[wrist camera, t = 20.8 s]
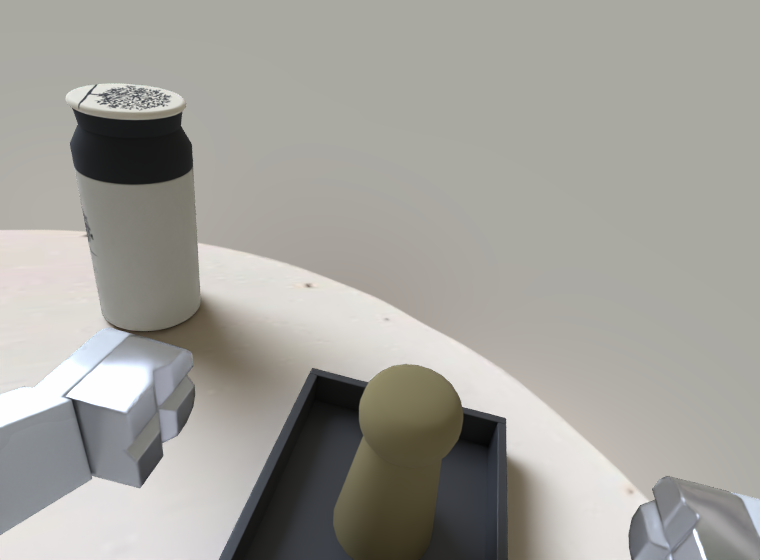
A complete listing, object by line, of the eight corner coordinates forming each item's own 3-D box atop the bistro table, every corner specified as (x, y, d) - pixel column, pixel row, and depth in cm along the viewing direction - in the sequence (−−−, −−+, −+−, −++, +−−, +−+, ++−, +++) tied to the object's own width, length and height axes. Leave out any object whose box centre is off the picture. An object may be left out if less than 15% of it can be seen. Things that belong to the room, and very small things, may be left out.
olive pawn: (445, 503, 31) (492, 376, 26) (410, 593, 27) (457, 461, 21) (361, 460, 33) (386, 332, 27) (313, 538, 28) (331, 402, 22)
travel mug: (208, 283, 48) (199, 90, 39) (190, 336, 42) (174, 119, 32) (119, 278, 47) (88, 77, 37) (87, 332, 40) (37, 104, 31)
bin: (490, 724, 23) (510, 697, 21) (201, 631, 24) (198, 600, 23) (494, 446, 36) (506, 417, 35) (309, 397, 38) (312, 367, 36)
